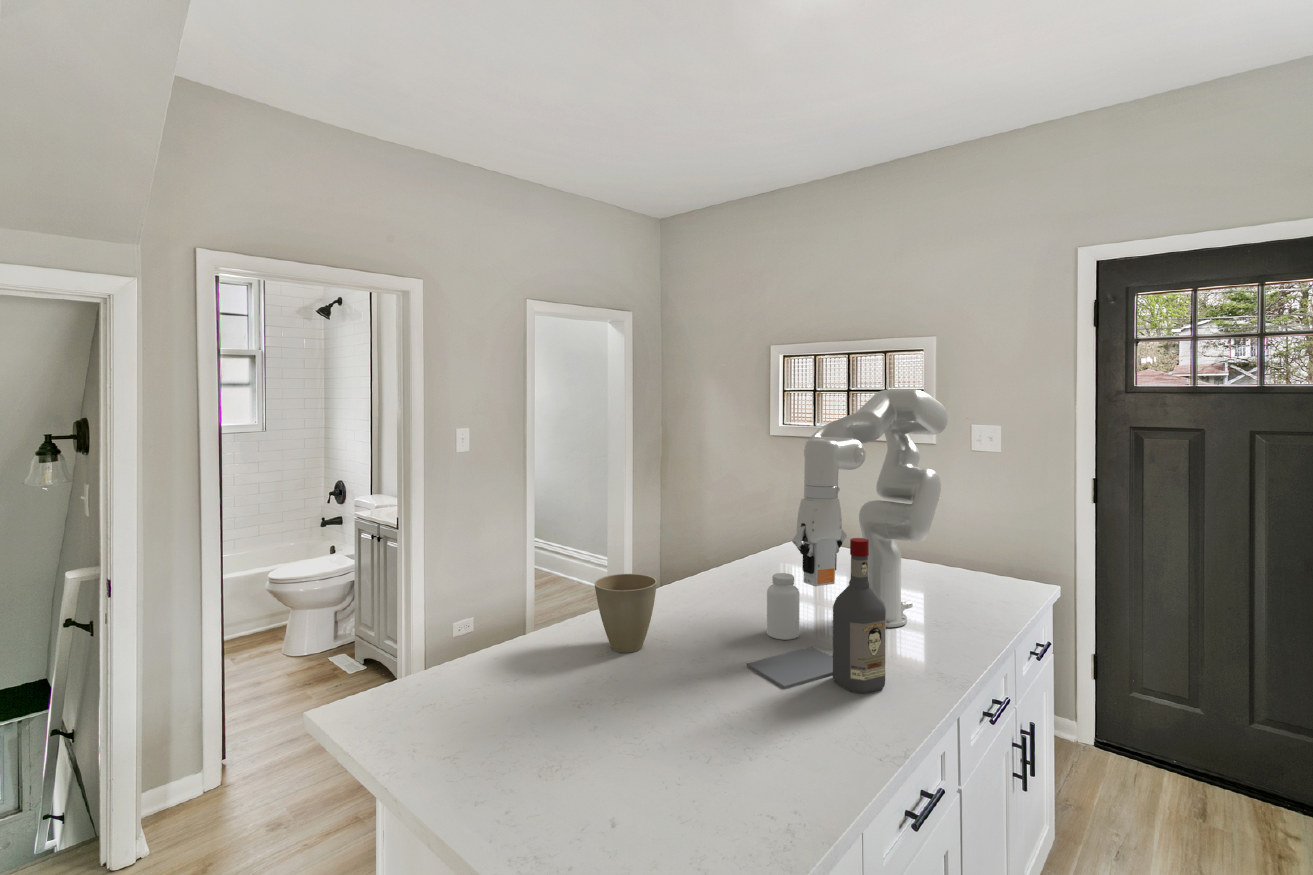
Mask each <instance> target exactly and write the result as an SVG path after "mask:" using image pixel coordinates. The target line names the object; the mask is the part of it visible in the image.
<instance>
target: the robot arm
mask: <svg viewBox="0 0 1313 875" xmlns="http://www.w3.org/2000/svg"><path fill="white" fill-rule="evenodd" d="M948 417H949V416H948V412H947V410H946V408H945V406H944V404H942V403H941V402H940V401H938V400H937V399H935V398H934V397H933V396H931V395H930V394H929V393H926V392H924V391H923V390H920V389H916V388H915V389H914V388H905V389H904V388H903V389H902V388H899V389H898V388H897V389H885V390H884V389H882V390H880V391H878V392H876V393H875V394H874V395H872V397H871V398H869V399H868V400H867V401H866V402H865V403H864V404H863V405H862V406H861V407H860V408H858V410H857V411H856V412H855V413H851V414H849V415H846V416H844V417H842V418H838V419H835V420H833V421H830V422H828V423H827V424H825V425H823V426H821V427H820V428H818V429H817V431H815V432H814V433H813V434H812V435H811V436H810V437H809V438H808V440H807V441H805V445H804V449H803V456H804V472H803V473H804V478H803V482H804V485H803V498H801V499H800V502H799V507H798V513H797V521H796V534H795V536H793V538H792V540H791V542H792V543H793V545H794V546H796V549H797V550H798V551H799V553H800V555H802V571H803V573H804V572H806V573H809V574H813V573H814V556H812V554H813V551H814V546H815V544H816V543H817V541H819V540H822V539H829V538H834V537H836V558H835V571H837V561H838V559H837V558H838V556H837V554H839V552H840V548H841V547H842V545H843V543H844V542H845V540H846V539H847V533H846V532H845V531H844V529H842V526H843V525H842V524H843V523H842V510H841V508H842V507H841V503H840V498H839V496H838V495H839V493H840V488H839V470H840V471H841V470H843V471H853V470H856V469H858V468H860V467H861V466H862V465H863V464H864V463H865V461H866V455H867V452H866V448H865V446H864V444H866V443H871V442H874V441H877V440H878V439H880V438H881V437H882V436H883V435H884V437H885V440H886V448H887V450H886V454H885V457H884V460H883V463H882V467H881V469H880V472H879V475H878V478H877V482H876V489H875V490H876V494H877V496H879V497H880V498H882V499H884V500H878V499H877V500H869V501H867V502H865V503H864V504H863V505H862V506H861V507H860V509H859V513H858V521H859V527H860V532H861V533H860V534H861V538H864V539H868V540H869V556H868V581H869V583H870V584H869V586H870V587H871V589H872V590H873V591H874V592H875V593H876V594H877V595H878V596H879V598H880V599H881V600H882V601H883V602H884V605H885V607H886V628H896V627H897V628H898V627H903V626H904V625H906V624H907V622H908V617H907V615H906V614H904V611H905V610H908V609H911V608H913V602H912V601H910V600H908V601H902V554H901V550H900V547H899V546H898V544H897V542H896V541H902V542H911V543H920V542H923V541H924V540H925V539H926V538H927V537H928V534H929V533H930V530H931V527H932V522H933V521H934V520H933V519H934V517H935V514H936V509H937V507H938V503H939V502H940V497H941V496H940V495H941V491H942V490H941V488H942V487H941V486H942V484H941V478H940V476H939V474H938V472H936V471H935V470H934V469H931V468H927V467H918V466H919V463H920V458H921V453H920V450H919V448H918V447H917V445H916V444H915V442H914V441H913V440H912V438H911V436H910V435H933V436H934V435H939V434H941V433H942V432H943V431H944V430H945V429H946V427H947V426H948ZM895 540H896V541H895ZM808 545H809V548H807V547H808Z"/></svg>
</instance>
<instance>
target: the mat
mask: <svg viewBox="0 0 1313 875" xmlns="http://www.w3.org/2000/svg"><path fill="white" fill-rule="evenodd" d="M746 667H747V668H749V669H751V670H752V671H754V672H756V674H758V675H761V676H762V677H763V678H765V679H767V680H769V681H770V682H772V683H774V684H776V685H777V686H779V687H780V688H782V689H784V690H786V689H789V688H793V687H797V686H799V685H804V684H806V683H811V682H813V681H817V680H820V679H823V678H827V677H830V676H833V655H831V654H829V653H827V652H825V651H823V650H821V649H819V648H816V647H814V646H808V647H804V648H802V649H801V648H800V649H796V650H792V651H789V652H788V651H787V652H786V653H785V652H784V653H782V654H778V655H777V654H776V655H774V656H773V655H772V656H770V657H766V658H762V659H757V660H754V661H750V662H747V663H746Z"/></svg>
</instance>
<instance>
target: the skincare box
mask: <svg viewBox="0 0 1313 875" xmlns="http://www.w3.org/2000/svg"><path fill="white" fill-rule="evenodd" d="M807 548H809V545H808V547H807ZM836 554H837V553H836V537H834V538H829V539H822V540H819V541H817V543H816V544H815V546H814V551H813V554H812V556H814V573H813V574H809V573H806V572H803V583H804V584H807V585H810V586H812V587H815V588H816V587H819V586H820V587H821V586H827V585H828V586H830V585H834V584H836V581H835V580H836V570H835V558H836Z"/></svg>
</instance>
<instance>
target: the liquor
mask: <svg viewBox="0 0 1313 875" xmlns="http://www.w3.org/2000/svg"><path fill="white" fill-rule="evenodd" d="M849 542H850V545H849V547H850V549H849V555H850V580H849V582H848V584H849V585H848V586H847V587H845V589H844V590H842V592H840V593H839V594H838V596H836V598H835V600H834V604H833V605H832V656H833V675H832V679H833V681H834V683H836V684H837V685H839V686H840V687H842V688H844V689H846V690H847V691H849V692H850V693H856V694H867V693H871V692H876V691H880V690H883V689H884V687H885V685H886V644H887V642H886V641H887V640H886V638H887V637H886V634H887V632H886V628H887V627H886V607H885V605H884V602H883V601H882V600H881V599H880V598H879V596H878V595H877V594H876V593H875V592H874V591H873V590H872V589H871V587H870V586H869V584H870V583H869V581H868V556H869V540H868V539H864V538H862V537H852V538H850V540H849Z"/></svg>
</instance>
